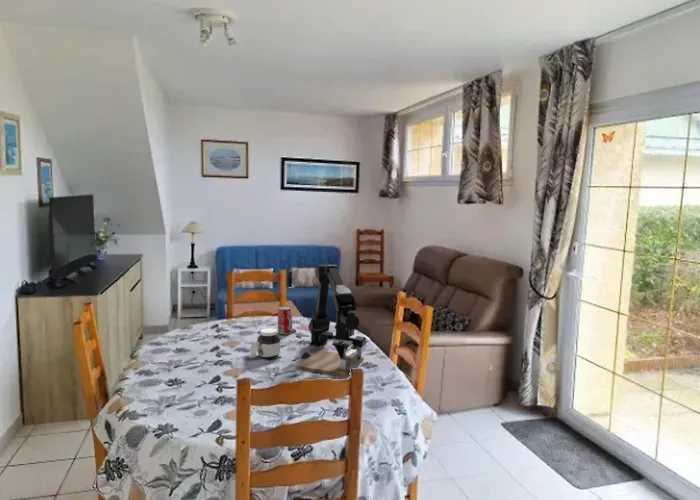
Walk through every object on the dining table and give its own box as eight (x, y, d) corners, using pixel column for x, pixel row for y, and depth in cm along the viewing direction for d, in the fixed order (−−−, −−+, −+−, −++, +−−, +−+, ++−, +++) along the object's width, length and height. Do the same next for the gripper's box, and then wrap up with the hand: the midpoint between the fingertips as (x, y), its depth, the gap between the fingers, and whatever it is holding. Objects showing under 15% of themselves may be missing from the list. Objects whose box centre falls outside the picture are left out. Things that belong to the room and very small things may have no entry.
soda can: (289, 335, 244) (289, 310, 242) (275, 334, 245) (275, 309, 244) (294, 331, 251) (294, 306, 249) (280, 330, 252) (280, 305, 251)
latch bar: (353, 354, 214) (353, 343, 214) (362, 355, 213) (363, 345, 212) (337, 369, 197) (337, 357, 197) (348, 370, 196) (348, 358, 195)
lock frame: (297, 368, 201) (297, 352, 200) (319, 352, 220) (319, 337, 220) (348, 377, 193) (349, 360, 192) (366, 359, 213) (366, 344, 212)
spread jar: (282, 357, 214) (283, 331, 212) (261, 364, 206) (261, 336, 204) (265, 350, 222) (265, 325, 220) (244, 356, 214) (244, 330, 212)
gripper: (371, 320, 204) (370, 356, 207) (329, 314, 211) (328, 349, 213) (362, 327, 194) (361, 365, 196) (318, 321, 201) (318, 358, 203)
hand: (342, 359), depth 203 cm, fingers closed
